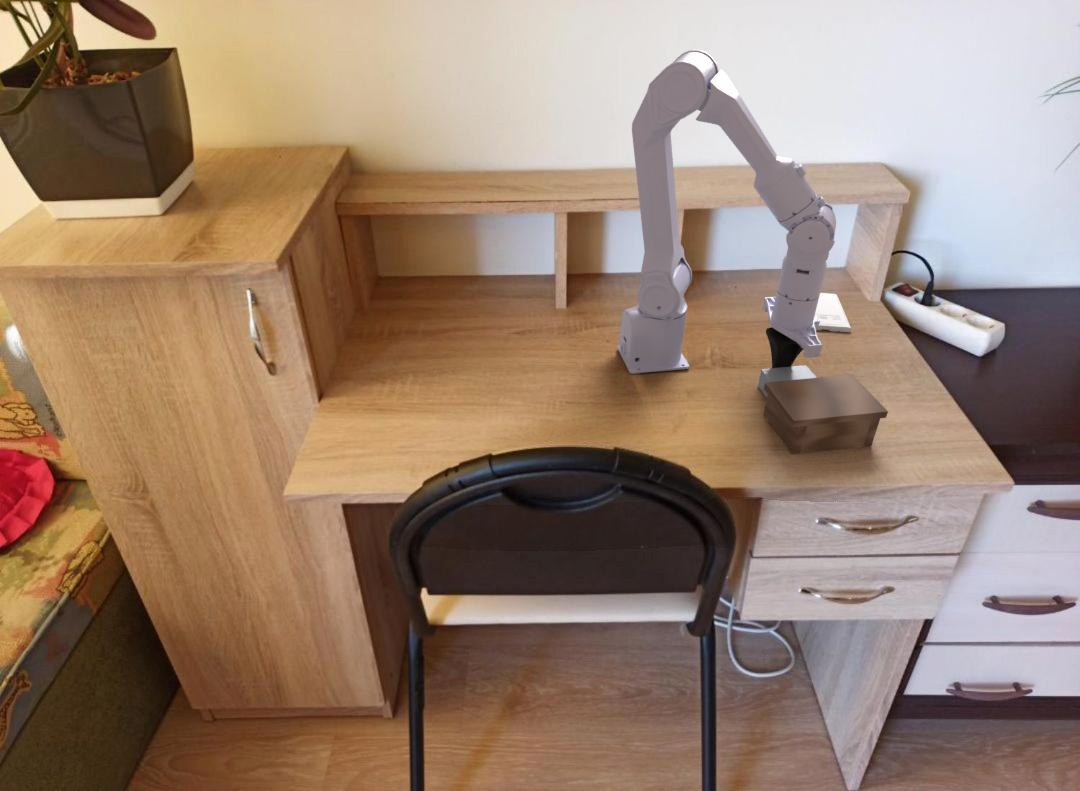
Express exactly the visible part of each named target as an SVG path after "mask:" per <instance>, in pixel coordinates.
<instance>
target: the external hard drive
mask: <svg viewBox="0 0 1080 791" xmlns="http://www.w3.org/2000/svg"><path fill="white" fill-rule="evenodd" d="M815 316H816V317H817V318H818V319H819V320H820V324H819V325H816V326H815V328H816V331H830V332H837V331H838V332H839V331H840V332H839V333H851V331H852V327H851V325H850V321H849V319H848V317H847V315H846V312H845V310H844V308H843V306H842V304H841V301H840V299H839V297H838V295H837V294H836V293H827V292H820V296H819V300H818V304H817V308H816V312H815Z"/></svg>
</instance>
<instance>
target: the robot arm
mask: <svg viewBox="0 0 1080 791" xmlns="http://www.w3.org/2000/svg"><path fill="white" fill-rule="evenodd" d="M746 104H747V103H745V101H744V100H743V98H742V96H741V95H740V94H739V91H738V90H737V88H736V87H735V85H734V83H733V82H732V80H731V79H730V77H729V76H728V75H727V73H725V71H724V70H723V69H720V70H719V67H718V64H717V62H716V60H715V59H714V57H713V56H712V55H711V54H710V53H708V52H707V51H704V50H701V49H691V50H688V51H684V52H683V53H681V54H680V55H679V56H678V57H677V58H675V60H673V62H672V63H670V64H669V65H667V66H666V67H665V68H663V70H662V71H660V73H659V74H658V75H657V76H656V77H655V78H654V79H653V80H651V82H649V84H648V88H647V91H646V94H645V96H644V97H643V99H642V102H641V104H640V105H639V108H638V109H637V112H636V114H635V116H634V118H633V121H632V124H631V134H632V144H633V145H632V146H633V152H634V153H633V154H634V162H635V172H636V182H637V190H638V191H637V193H638V201H639V209H640V211H639V212H640V221H641V230H642V237H643V238H642V239H643V248H644V249H643V250H644V251H643V252H644V253H643V260H642V266H641V271H640V276H641V283H640V286H639V289H637V290H638V292H637V303H638V304H637V305H636V306H633V307H630V308H626V309H623V310H622V313H621V317H620V329H619V330H620V331H619V339H618V340H619V343H618V345H617V350H618V352H619V354H620V356H621V359H622V360H623V362H624V364H625V366H626V367H627V368H626V369H627V370H628V372H629V374H645V373H655V372H656V373H657V372H666V371H668V372H669V371H676V370H689V368H690V363H689V362H688V360H687V359H686V358H685V356H684V354H683V353H682V351H683V342H684V336H685V329H686V328H685V327H686V321H687V313H688V304H687V302H686V299H685V296H684V295H685V293H686V291H687V290H688V288H689V287H690V285H691V283H692V280H693V270H692V268H691V266H690V265H689V263H688V261H687V260H686V257H685V249H684V247H683V245H682V244H681V242H680V236H679V235H680V233H679V231H680V230H679V221H678V220H679V218H678V209H677V208H678V206H677V196H676V195H677V194H676V182H675V172H674V169H675V168H674V161H673V160H674V159H673V146H672V145H673V144H672V133H671V132H672V130H673V129H674V128H675V127H676V126H677V124H678V123H679V122H680V121H681V120H683V119H685V118H686V117H688V116H690V115H692V114H694V113H695V112H696V111H700V113H699V114H698V116H697V117H696V118H695V121H698V122H702V123H707V124H712V125H715V126H719V127H720V128H721V130H722V131H723V132H724V134H725V135H726V136H727V137H728V138H729V140H730V141H731V143H733V145H734V146H735V148H736V149H737V150H738V152H739V153H740V154H741V155H742V156H743V158H744V159H745V160H746V162H747V163H748V164H749V166H750V167H751V168H752V169H753V171H754V172H755V177H754V182H753V188H754V189H755V190H756V192H757V194H758V195H759V196H760V198H761V199H762V201H763V202H764V204H765V205H766V207H767V208H768V209H769V211H770V212H771V214H772V215H773V216H774V218H775V219H776V221H777V222H778V223H779V225H780V226H782V228H784V229H785V230H787V232H788V233H786V235H785V236H786V237H785V239H786V244H787V250H786V255H785V256H784V257H783V258H782V264H781V269H780V273H779V278H778V283H777V289H776V293H775V296H765V297H764V299H763V304H762V310H763V311H764V312H765V313H766V312H767V317H768V322H769V325H770V327H768V328H766V329H765V334H766V336H767V339H768V343H769V346H770V347H769V348H770V352H771V353H770V354H771V368H781V367H791V366H793V364H794V362H795V360H796V358H797V357H798V356H799V355H800V353H802V351H803V354H802V355H803V356H804V357H805V358H807V359H808V358H811V359H812V358H819V357H820V355H821V351H822V347H823V344H822V343H821V341H820V339H819V336H818V333H817V330H816V328H815V326H816V325H819V324H820V320H819V319H818V318H817V317H816V316H815V312H816V308H817V304H818V300H819V296H820V293H822V287H823V283H824V279H825V274H826V271H827V266H828V265H827V260H828V258H829V256H830V255H829V254H830V251H831V250H832V248H833V247H834V245H835V234H836V229H837V228H836V227H837V226H836V225H837V219H836V214H835V212H834V210H833V206H832V205H831V204H829V202H827V200H826V199H825V198H824V196H823V195H821V196H818V194H817V193H816V191H815V190H814V189H813V187H812V186H811V184H810V183H809V181H808V180H807V178H806V177H805V175H806V173H807V169H806V167H805V166H804V165H803V163H798V164H797V163H796V162H795V161H794V159H793V158H791V157H786V156H780V155H778V154H777V152H776V151H775V150H774V148H773V146H772V145H771V143H770V142H769V139H768V138H767V137H766V135H765V133H764V132H763V131H762V130H763V129H761V127H760V125H759V124H758V122H757V120H756V119H755V117H754V116H753V114H752V113H751V111H750V109H749V108H748V106H747V105H746Z"/></svg>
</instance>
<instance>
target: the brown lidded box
mask: <svg viewBox="0 0 1080 791" xmlns="http://www.w3.org/2000/svg"><path fill="white" fill-rule="evenodd" d="M764 390H765V391H766V393H767V394H768V395H767V398H766V400H765V406H764V409H763V416H764V418H765V419H766V421H767V420H768V421H767V422H768V424H769V425H770V426H771V428H772V429H773V430H774V432H775V433H776V434H777V436H778V437H779V439H780V440H781V441H782V443H783V445H784V446H785V447H786V449H787V450H788V451H789V453H790V454H791V455H796V454H798V455H799V454H807V453H814V452H824V451H825V452H826V451H834V450H845V449H854V448H860V447H871V446H872V445H873V444H874V442H873V441H874V439H875V436H876V432H877V429H878V426H879V423H880V420H881V419H886V418H887V416H888V413H889V411H888V410H887V409H886V407H885V406H883V404H881V402H880V401H879V400H878V399H877V398H876V397H875V396H874V395H873V394H872V393H871V392H870V391H869V390H868V389H867V388H866V387H865V386H864V385H863V384H862V382H861V381H859V379H857V377H856V376H855V375H854V374H843V375H833V376H823V377H817V378H809V379H798V380H788V381H777V382H766V383H765V384H764Z"/></svg>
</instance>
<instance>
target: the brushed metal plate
mask: <svg viewBox="0 0 1080 791" xmlns="http://www.w3.org/2000/svg"><path fill="white" fill-rule="evenodd" d="M809 378H818V377H817V375H815V374H814V373H813V372H812V371H811V369H810V368H809V367H808V365H806V364H805V365H794V366H793V365H792V366H791V367H781V368H772V367H770V368H761V369H760V373H759V377H758V383H757V387H758V388H759V390H760V391H761V392H762V395H764V397H765V398H766V399H767V395H768V394H767V393H766V391H765V390H764V384H765V383H766V382H777V381H788V380H798V379H809Z"/></svg>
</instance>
